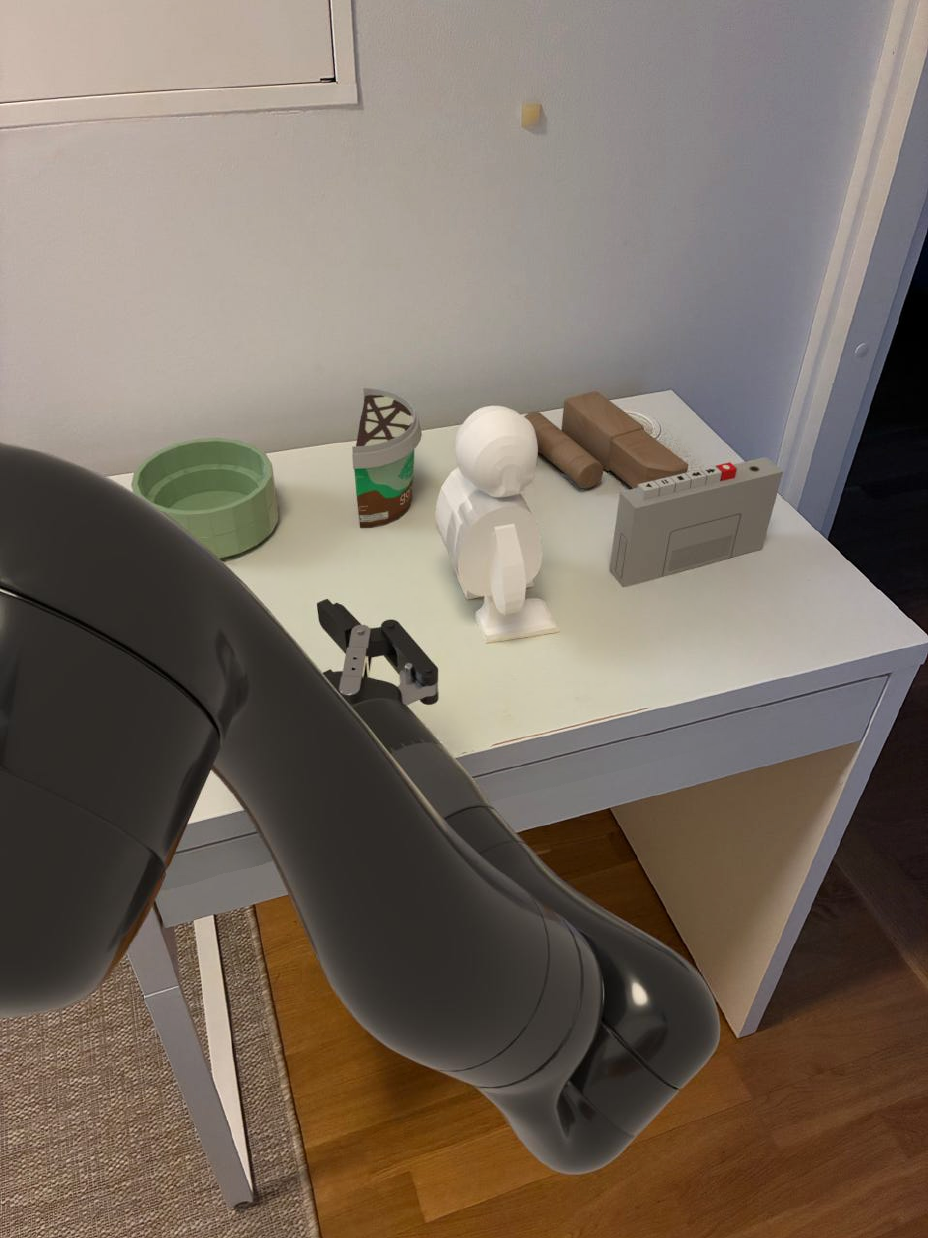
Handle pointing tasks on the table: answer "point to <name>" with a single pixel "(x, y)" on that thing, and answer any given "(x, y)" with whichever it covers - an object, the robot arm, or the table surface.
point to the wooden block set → (602, 444)
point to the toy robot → (495, 523)
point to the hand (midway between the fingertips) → (263, 635)
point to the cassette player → (693, 519)
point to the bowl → (213, 491)
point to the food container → (385, 457)
